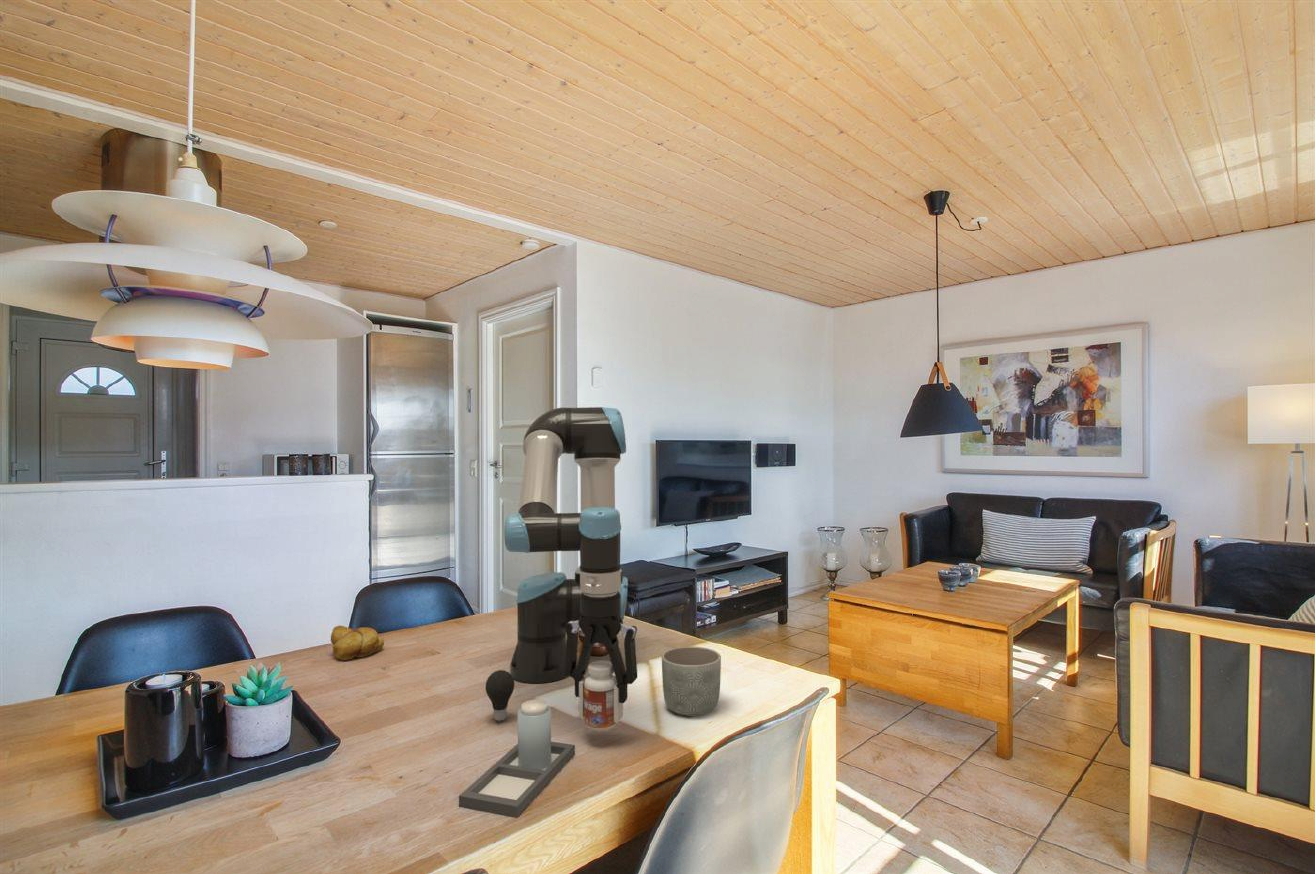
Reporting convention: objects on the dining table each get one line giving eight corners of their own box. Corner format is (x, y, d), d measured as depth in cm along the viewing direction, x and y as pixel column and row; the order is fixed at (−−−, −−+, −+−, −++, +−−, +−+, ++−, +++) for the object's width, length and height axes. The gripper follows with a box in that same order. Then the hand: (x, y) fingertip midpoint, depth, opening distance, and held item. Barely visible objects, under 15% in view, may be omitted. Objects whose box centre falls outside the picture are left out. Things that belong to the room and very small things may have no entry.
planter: (680, 725, 123) (679, 669, 123) (651, 703, 134) (651, 651, 134) (733, 713, 129) (732, 659, 129) (701, 692, 140) (701, 642, 140)
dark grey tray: (458, 806, 96) (458, 795, 96) (524, 746, 115) (524, 737, 115) (517, 817, 93) (517, 806, 93) (574, 753, 112) (574, 744, 112)
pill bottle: (577, 725, 116) (576, 665, 116) (601, 713, 121) (600, 656, 121) (600, 735, 112) (600, 673, 112) (624, 723, 117) (624, 663, 117)
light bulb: (520, 717, 127) (519, 667, 127) (504, 729, 122) (504, 677, 122) (496, 713, 129) (495, 664, 129) (479, 725, 124) (479, 674, 124)
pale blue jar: (511, 768, 106) (511, 709, 106) (528, 753, 112) (527, 696, 112) (541, 773, 105) (541, 713, 105) (556, 757, 110) (556, 700, 110)
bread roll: (381, 646, 174) (381, 617, 174) (388, 655, 166) (388, 625, 166) (329, 655, 167) (329, 624, 167) (334, 665, 159) (334, 633, 159)
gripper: (544, 593, 115) (544, 718, 116) (642, 601, 110) (643, 733, 110) (562, 583, 123) (563, 701, 123) (655, 590, 117) (656, 714, 117)
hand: (601, 716), depth 116 cm, fingers closed on pill bottle, 6 cm apart
